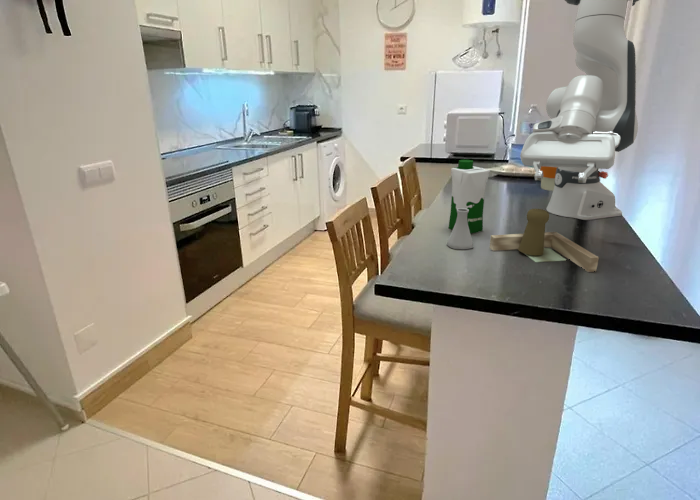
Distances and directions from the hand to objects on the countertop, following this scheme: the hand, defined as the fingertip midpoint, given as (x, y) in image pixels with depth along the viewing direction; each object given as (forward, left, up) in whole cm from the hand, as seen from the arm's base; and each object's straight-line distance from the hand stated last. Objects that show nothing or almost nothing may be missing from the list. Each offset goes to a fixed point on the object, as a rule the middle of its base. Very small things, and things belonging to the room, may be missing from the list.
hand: (559, 180), depth 104 cm
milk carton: (+12, -24, -20) cm, 33 cm away
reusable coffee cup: (-40, -67, -20) cm, 80 cm away
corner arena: (+2, 0, -20) cm, 20 cm away
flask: (+18, -12, -20) cm, 29 cm away
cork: (+2, -4, -19) cm, 20 cm away
